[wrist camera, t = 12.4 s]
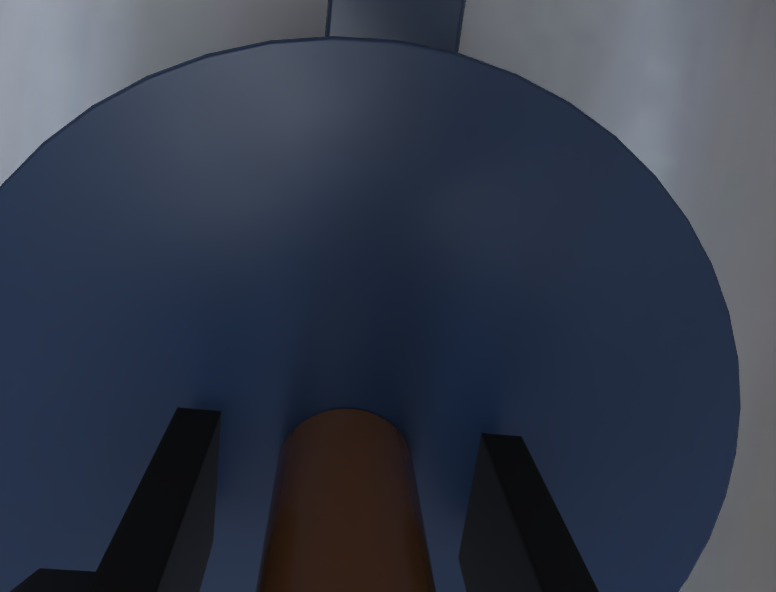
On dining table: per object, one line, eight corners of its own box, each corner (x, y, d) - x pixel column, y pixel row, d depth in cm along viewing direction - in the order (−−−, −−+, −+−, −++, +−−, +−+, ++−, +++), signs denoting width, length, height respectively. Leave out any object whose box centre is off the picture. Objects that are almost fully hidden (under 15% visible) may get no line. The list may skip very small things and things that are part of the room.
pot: (623, 12, 21) (840, -38, 12) (505, 568, 27) (589, 821, 18) (121, -63, 19) (-74, -184, 10) (114, 542, 25) (-14, 804, 16)
